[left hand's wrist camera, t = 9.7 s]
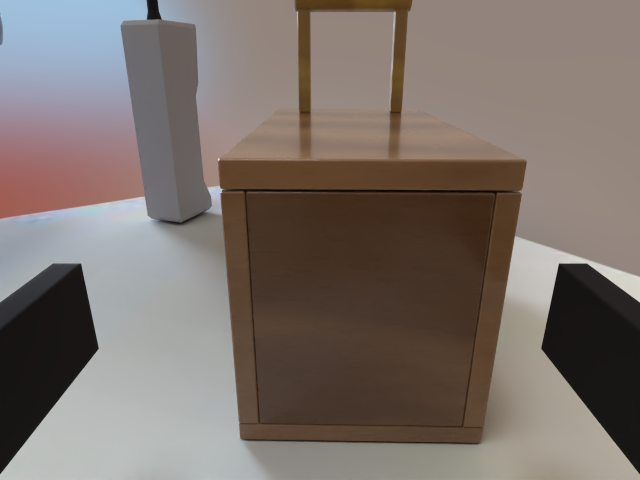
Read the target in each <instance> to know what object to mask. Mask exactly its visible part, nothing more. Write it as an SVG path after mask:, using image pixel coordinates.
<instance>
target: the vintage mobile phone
mask: <svg viewBox="0 0 640 480" xmlns="http://www.w3.org/2000/svg"><path fill="white" fill-rule="evenodd" d="M147 8H148V14H147V20H134V21H123V23H122V24H121V32H122V39H123V46H124V53H125V60H126V67H127V74H128V81H129V88H130V95H131V102H132V109H133V116H134V123H135V130H136V137H137V143H138V151H139V157H140V164H141V171H142V178H143V185H144V192H145V199H146V206H147V213H148V216H149V217H151V218H153V219H160V220H167V221H174V222H183V221H185V220H187V219H189V218H191V217H194V216H196V215H198V214H200V213H202V212H204V211H206V210H208V209H210V207H211V206H212V202H211V196H210V194H209V191H208V189H207V187H206V184H205V182H204V179H203V168H202V158H201V147H200V136H199V126H198V115H197V105H196V92H197V86H198V69H197V45H196V27H195V25H194V24H189V23H181V22H174V21H166V20H162V19H161V16H160V13H159V9H158V1H157V0H147Z"/></svg>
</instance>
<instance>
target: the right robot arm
mask: <svg viewBox="0 0 640 480" xmlns="http://www.w3.org/2000/svg"><path fill="white" fill-rule="evenodd" d="M2 42H3V27H2V18H1V13H0V45H1V44H2Z"/></svg>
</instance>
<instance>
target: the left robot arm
mask: <svg viewBox="0 0 640 480" xmlns="http://www.w3.org/2000/svg"><path fill="white" fill-rule="evenodd" d="M98 349H99V348H98V343H97V338H96V333H95V329H94V324H93V319H92V314H91V309H90V305H89V300H88V295H87V290H86V285H85V281H84V276H83V271H82V266H81V264H52V265H51V266H49V267H48V268H47V269H45V270H44V271H42V272H41V273H40V274H38V275H37V276H36V277H34V278H33V279H32V280H30V281H29V282H28V283H26V284H25V285H23V286H22V287H21V288H19V289H18V290H17V291H15V292H14V293H13V294H11V295H10V296H9V297H7V298H6V299H4V300H3V301H2V302H0V474H1V472H2V471H3V470H4V469H5V467H6V466H7V465H8V464H9V462H10V461H11V460H12V458H13V457H14V456H15V455H16V453H17V452H18V451H19V450H20V448H21V447H22V446H23V444H24V443H25V442H26V441H27V439H28V438H29V437H30V436H31V434H32V433H33V432H34V430H35V429H36V428H37V427H38V425H39V424H40V423H41V422H42V420H43V419H44V418H45V416H46V415H47V414H48V413H49V411H50V410H51V409H52V408H53V406H54V405H55V404H56V402H57V401H58V400H59V399H60V397H61V396H62V395H63V393H64V392H65V391H66V390H67V388H68V387H69V386H70V385H71V383H72V382H73V381H74V379H75V378H76V377H77V376H78V374H79V373H80V372H81V371H82V369H83V368H84V367H85V365H86V364H87V363H88V362H89V360H90V359H91V358H92V357H93V355H94V354H95V353H96V351H97V350H98ZM541 349H542V350H543V351H544V353H545V354H546V355H547V357H548V358H549V359H550V360H551V362H552V363H553V364H554V365H555V367H556V368H557V369H558V371H559V372H560V373H561V374H562V376H563V377H564V378H565V379H566V381H567V382H568V383H569V385H570V386H571V387H572V388H573V390H574V391H575V392H576V393H577V395H578V396H579V397H580V399H581V400H582V401H583V402H584V404H585V405H586V406H587V408H588V409H589V410H590V411H591V413H592V414H593V415H594V416H595V418H596V419H597V420H598V422H599V423H600V424H601V425H602V427H603V428H604V429H605V430H606V432H607V433H608V434H609V436H610V437H611V438H612V439H613V441H614V442H615V443H616V444H617V446H618V447H619V448H620V450H621V451H622V452H623V453H624V455H625V456H626V457H627V458H628V460H629V461H630V462H631V464H632V465H633V466H634V467H635V469H636V470H637V471H638V472H639V474H640V302H638V301H637V300H636V299H634V298H633V297H631V296H630V295H629V294H627V293H626V292H625V291H623V290H622V289H621V288H619V287H618V286H617V285H615V284H614V283H612V282H611V281H610V280H608V279H607V278H606V277H604V276H603V275H602V274H600V273H599V272H598V271H596V270H595V269H593V268H592V267H591V266H589V265H588V264H559V266H558V271H557V276H556V281H555V285H554V290H553V295H552V300H551V305H550V309H549V314H548V319H547V324H546V329H545V333H544V338H543V343H542V348H541Z"/></svg>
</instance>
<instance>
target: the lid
mask: <svg viewBox="0 0 640 480" xmlns="http://www.w3.org/2000/svg"><path fill="white" fill-rule="evenodd" d="M294 3H295V11H296V12H298V66H299V109H279V110H277V111H276V112H275V113H274V114H273V115H271V116H270V117H269V118H268V119H266V120H265V121H264V122H263V123H262V124H260V125H259V126H258V127H257V128H256V129H254V130H253V131H252V132H251V133H249V134H248V135H247V136H246V137H245V138H243V139H242V140H241V141H240V142H239V143H237V144H236V145H235V146H234V147H233V148H231V149H230V150H229V151H228V152H226V153H225V154H224V155H223V156H222V157H220V158H219V159H218V169H219V181H220V188H221V189H286V190H472V191H520V190H522V187H523V181H524V175H525V169H526V163H527V162H526V160H524V159H522V158H520V157H518V156H516V155H514V154H512V153H510V152H507V151H505V150H503V149H501V148H499V147H497V146H495V145H493V144H491V143H488V142H486V141H484V140H482V139H480V138H478V137H476V136H474V135H471V134H469V133H467V132H465V131H463V130H461V129H459V128H457V127H455V126H453V125H450V124H448V123H446V122H444V121H442V120H440V119H438V118H436V117H434V116H431V115H429V114H427V113H425V112H423V111H421V110H419V109H402V96H403V81H404V65H405V49H406V33H407V17H408V12H409V11H410V9H411V5H412V0H294ZM310 12H394V23H393V42H392V61H391V80H390V98H389V109H311V28H310V27H311V24H310Z"/></svg>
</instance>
